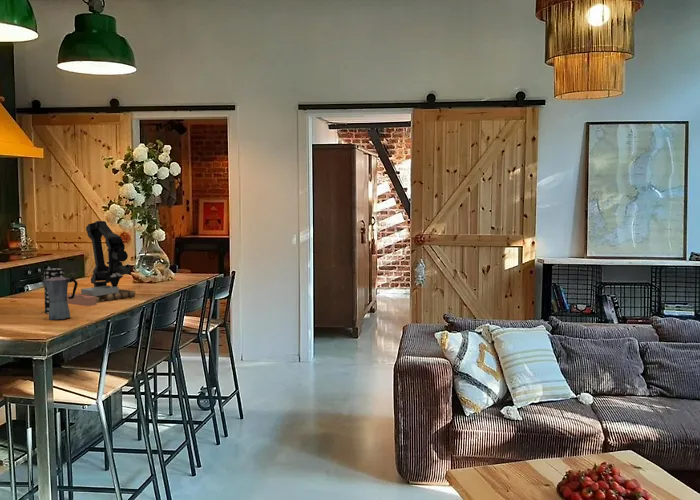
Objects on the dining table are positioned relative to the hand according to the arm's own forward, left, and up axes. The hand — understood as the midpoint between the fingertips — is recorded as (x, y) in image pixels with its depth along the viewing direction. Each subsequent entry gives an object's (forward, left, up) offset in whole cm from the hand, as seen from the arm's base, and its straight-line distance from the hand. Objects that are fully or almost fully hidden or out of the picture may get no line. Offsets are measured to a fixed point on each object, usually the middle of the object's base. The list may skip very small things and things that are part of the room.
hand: (115, 289), depth 347 cm
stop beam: (0, -22, -5) cm, 22 cm away
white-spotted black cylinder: (+9, -44, -5) cm, 46 cm away
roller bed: (0, -4, -5) cm, 7 cm away
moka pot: (+24, -53, -5) cm, 59 cm away
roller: (0, -15, -5) cm, 16 cm away
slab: (-1, -9, -1) cm, 9 cm away
